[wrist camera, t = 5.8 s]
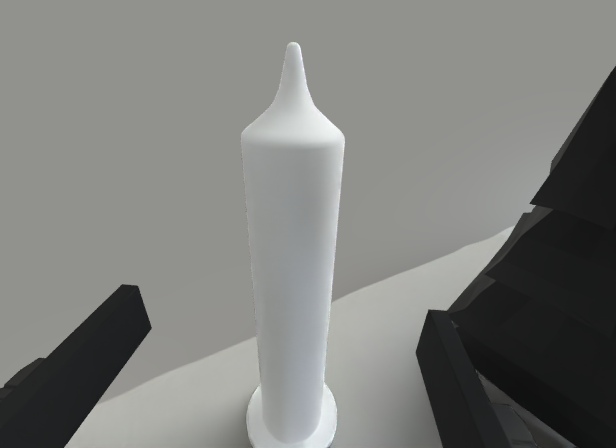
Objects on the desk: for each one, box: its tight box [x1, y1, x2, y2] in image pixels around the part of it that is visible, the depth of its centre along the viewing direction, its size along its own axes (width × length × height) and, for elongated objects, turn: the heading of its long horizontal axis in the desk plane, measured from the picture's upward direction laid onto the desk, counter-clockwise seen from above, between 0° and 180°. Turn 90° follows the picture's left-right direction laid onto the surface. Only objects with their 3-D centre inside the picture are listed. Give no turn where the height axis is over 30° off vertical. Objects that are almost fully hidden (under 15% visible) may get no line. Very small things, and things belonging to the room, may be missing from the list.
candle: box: [241, 42, 345, 448], centre depth 16 cm, size 7×7×25 cm
